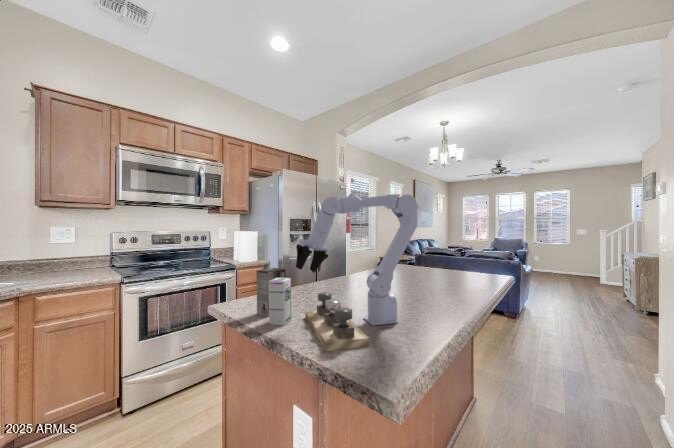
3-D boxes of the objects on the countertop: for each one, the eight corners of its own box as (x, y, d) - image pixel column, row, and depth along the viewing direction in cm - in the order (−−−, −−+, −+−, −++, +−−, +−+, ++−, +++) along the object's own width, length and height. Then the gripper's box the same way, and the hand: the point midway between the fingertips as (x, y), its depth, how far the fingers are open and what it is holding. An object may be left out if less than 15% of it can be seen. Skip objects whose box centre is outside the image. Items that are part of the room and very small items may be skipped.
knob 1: (329, 304, 97) (329, 291, 97) (333, 308, 93) (333, 295, 93) (316, 305, 96) (316, 292, 96) (319, 309, 91) (319, 296, 91)
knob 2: (348, 322, 78) (348, 307, 78) (354, 328, 74) (354, 311, 74) (332, 324, 77) (332, 308, 77) (337, 330, 72) (337, 313, 72)
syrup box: (285, 325, 88) (285, 280, 88) (268, 324, 89) (268, 280, 90) (291, 320, 94) (291, 277, 94) (275, 318, 95) (275, 277, 95)
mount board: (337, 314, 100) (337, 302, 100) (369, 345, 73) (369, 328, 73) (305, 317, 96) (305, 304, 96) (326, 351, 69) (326, 333, 70)
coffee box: (274, 308, 108) (274, 267, 108) (286, 310, 104) (286, 268, 105) (256, 314, 100) (256, 270, 101) (268, 317, 97) (268, 271, 97)
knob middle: (338, 312, 88) (338, 298, 88) (342, 317, 83) (342, 302, 83) (323, 314, 86) (323, 299, 86) (327, 318, 82) (327, 303, 82)
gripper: (323, 232, 100) (310, 267, 99) (298, 223, 88) (283, 262, 87) (338, 238, 96) (324, 275, 95) (314, 229, 84) (298, 270, 83)
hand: (305, 269), depth 91 cm, fingers open, 7 cm apart
